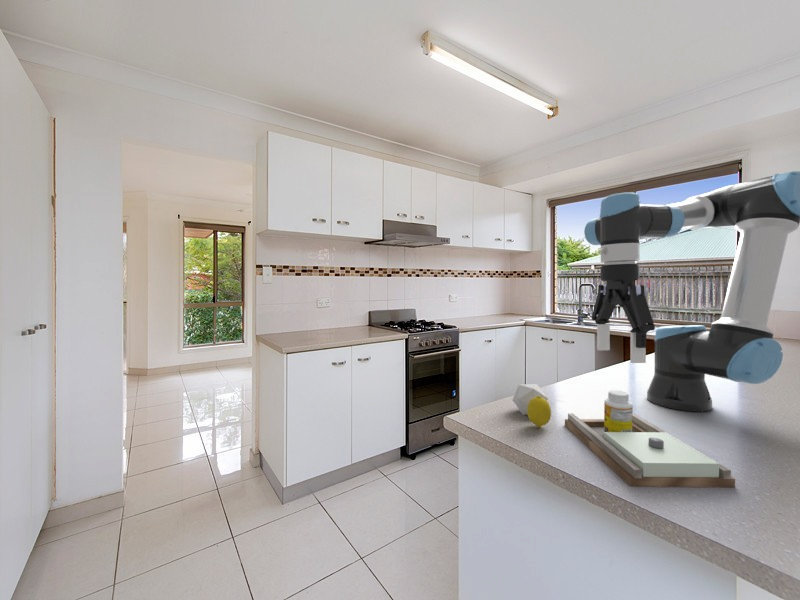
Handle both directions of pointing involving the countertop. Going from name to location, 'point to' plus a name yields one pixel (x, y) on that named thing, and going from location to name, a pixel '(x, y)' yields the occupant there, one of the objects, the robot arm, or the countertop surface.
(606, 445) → the wooden sliding lid box
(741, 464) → the countertop surface
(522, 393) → the die
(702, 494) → the countertop surface
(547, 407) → the lemon
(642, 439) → the slide cover
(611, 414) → the supplement bottle
